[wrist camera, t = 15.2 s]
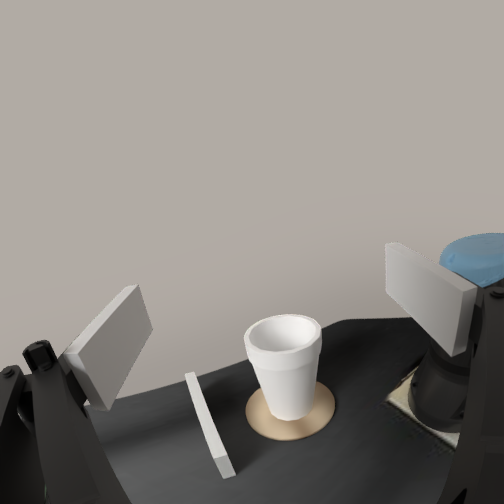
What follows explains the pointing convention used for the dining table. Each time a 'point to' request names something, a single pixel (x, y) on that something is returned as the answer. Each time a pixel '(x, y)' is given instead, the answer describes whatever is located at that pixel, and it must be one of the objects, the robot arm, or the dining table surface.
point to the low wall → (209, 428)
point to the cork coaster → (292, 429)
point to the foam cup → (285, 362)
